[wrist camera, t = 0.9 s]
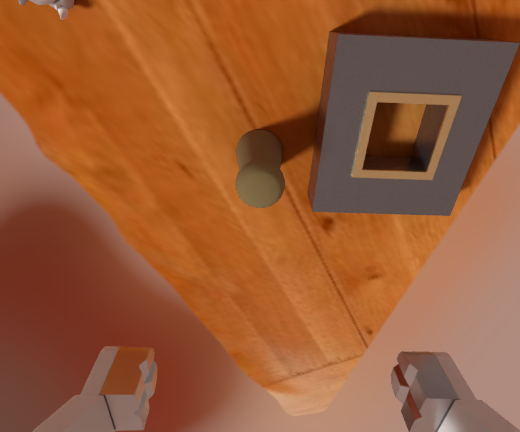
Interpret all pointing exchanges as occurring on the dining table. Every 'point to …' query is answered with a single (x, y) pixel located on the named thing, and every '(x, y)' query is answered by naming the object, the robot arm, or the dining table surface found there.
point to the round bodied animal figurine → (55, 5)
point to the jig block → (403, 91)
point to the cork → (259, 169)
